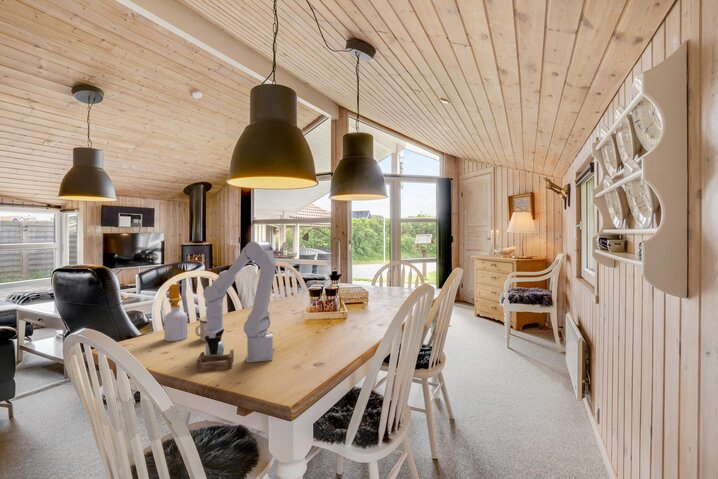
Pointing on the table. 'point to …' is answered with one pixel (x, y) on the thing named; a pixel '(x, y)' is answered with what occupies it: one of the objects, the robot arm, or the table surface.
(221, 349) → the roll
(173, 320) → the soap bottle
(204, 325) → the beige mug
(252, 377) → the table surface
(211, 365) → the holder
